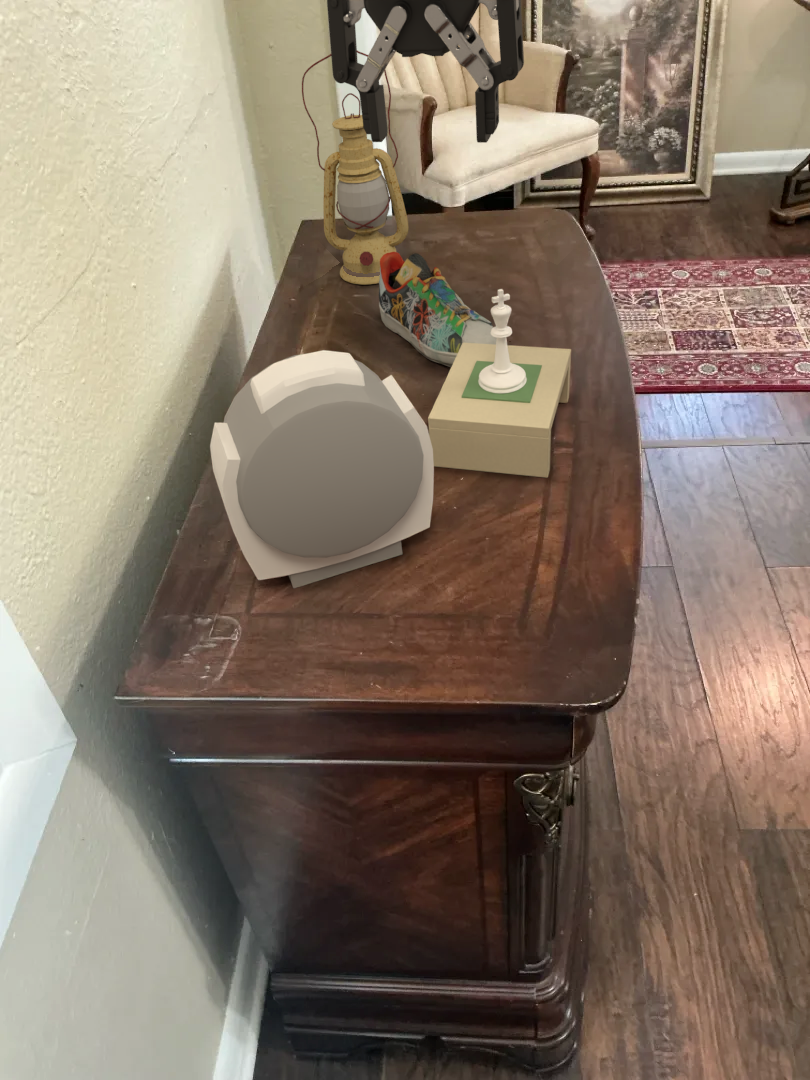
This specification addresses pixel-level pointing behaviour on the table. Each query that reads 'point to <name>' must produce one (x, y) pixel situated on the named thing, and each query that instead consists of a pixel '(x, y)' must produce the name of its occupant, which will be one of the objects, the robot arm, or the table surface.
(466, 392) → the box with green top
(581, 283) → the table surface
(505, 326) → the chess piece
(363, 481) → the alarm clock
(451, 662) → the table surface
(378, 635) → the table surface
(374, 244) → the lantern
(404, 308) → the sneaker
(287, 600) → the table surface
